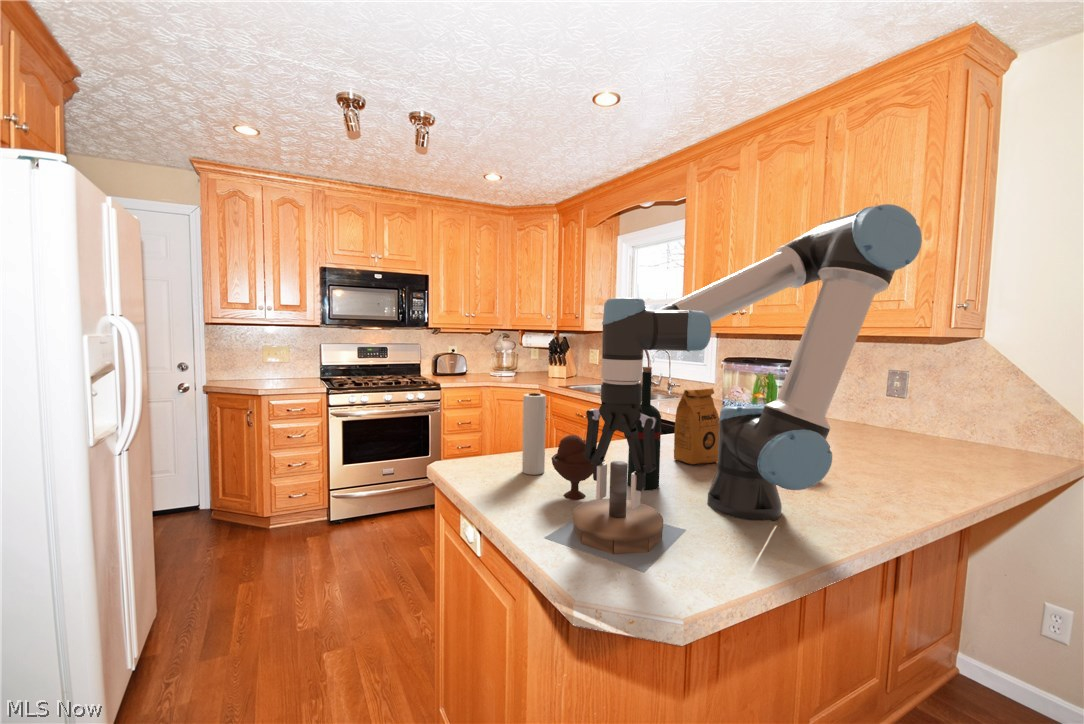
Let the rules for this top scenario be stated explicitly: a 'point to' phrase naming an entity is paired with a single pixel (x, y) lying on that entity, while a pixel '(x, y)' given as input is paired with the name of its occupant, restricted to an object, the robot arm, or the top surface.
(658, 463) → the wine bottle
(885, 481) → the top surface
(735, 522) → the top surface
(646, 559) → the mat
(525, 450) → the paper towel roll
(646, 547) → the lid
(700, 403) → the coffee package
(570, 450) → the ice cream bowl
